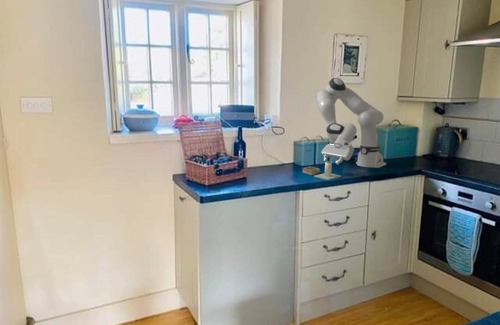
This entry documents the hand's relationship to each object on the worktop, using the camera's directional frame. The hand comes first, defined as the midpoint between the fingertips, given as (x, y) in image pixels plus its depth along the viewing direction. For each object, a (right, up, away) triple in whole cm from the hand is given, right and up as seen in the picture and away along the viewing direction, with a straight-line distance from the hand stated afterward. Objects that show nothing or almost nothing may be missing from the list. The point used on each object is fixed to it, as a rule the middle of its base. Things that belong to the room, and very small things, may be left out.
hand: (330, 162), depth 229 cm
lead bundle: (-1, -8, +1) cm, 8 cm away
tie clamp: (-10, -7, +11) cm, 16 cm away
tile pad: (-2, -9, +1) cm, 9 cm away
